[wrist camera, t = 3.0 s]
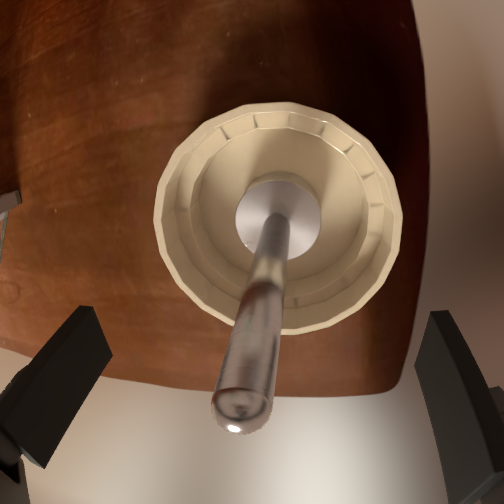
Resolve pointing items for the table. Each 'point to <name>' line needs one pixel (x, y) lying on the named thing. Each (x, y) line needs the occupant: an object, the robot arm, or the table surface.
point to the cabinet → (3, 204)
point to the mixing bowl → (234, 186)
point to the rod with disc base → (263, 295)
